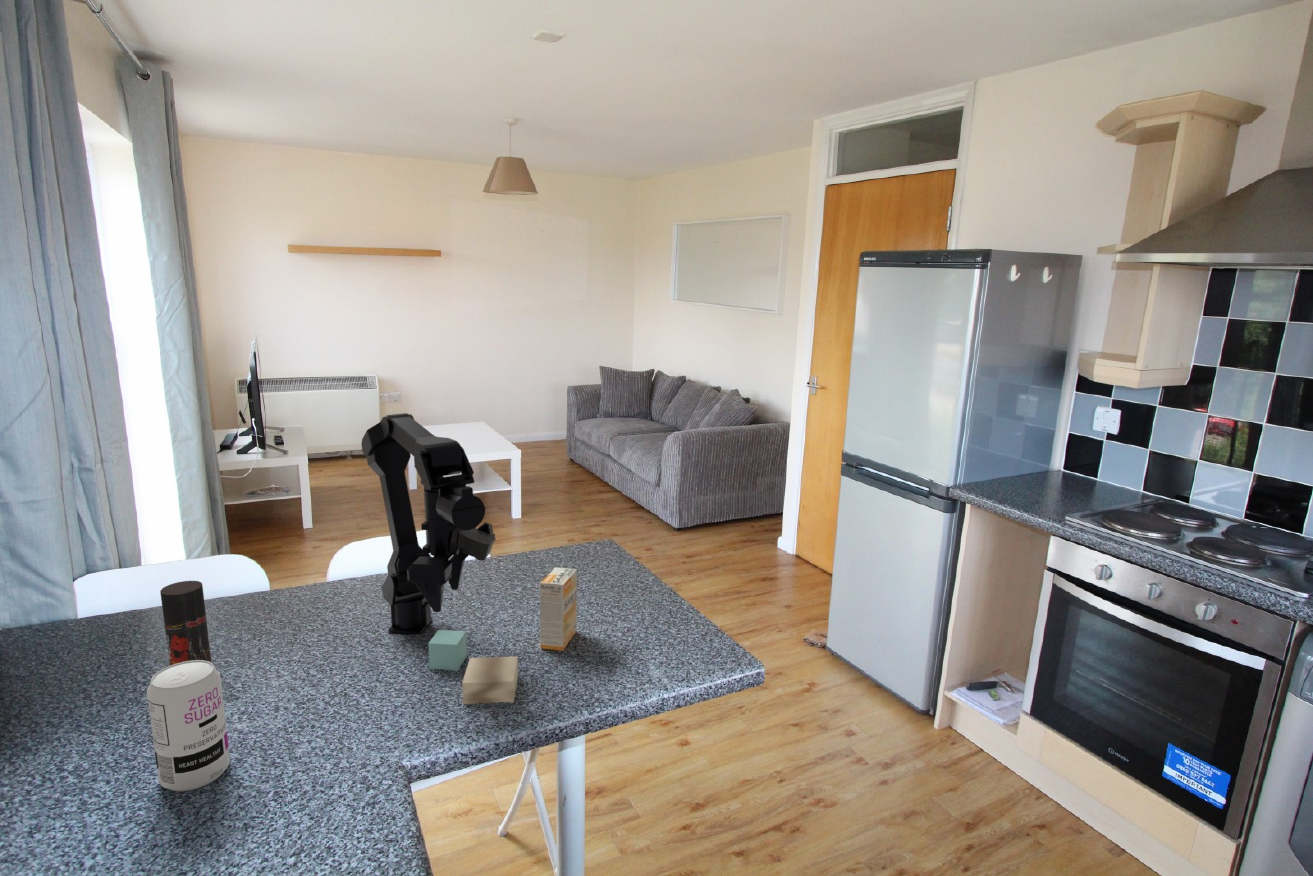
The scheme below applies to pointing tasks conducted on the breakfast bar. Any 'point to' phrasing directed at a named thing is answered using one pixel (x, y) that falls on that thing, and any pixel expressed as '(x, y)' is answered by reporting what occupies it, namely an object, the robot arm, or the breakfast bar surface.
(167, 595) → the deodorant
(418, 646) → the breakfast bar surface
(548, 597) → the supplement box
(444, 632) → the teal cube
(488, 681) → the beech block
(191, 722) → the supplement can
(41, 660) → the breakfast bar surface
